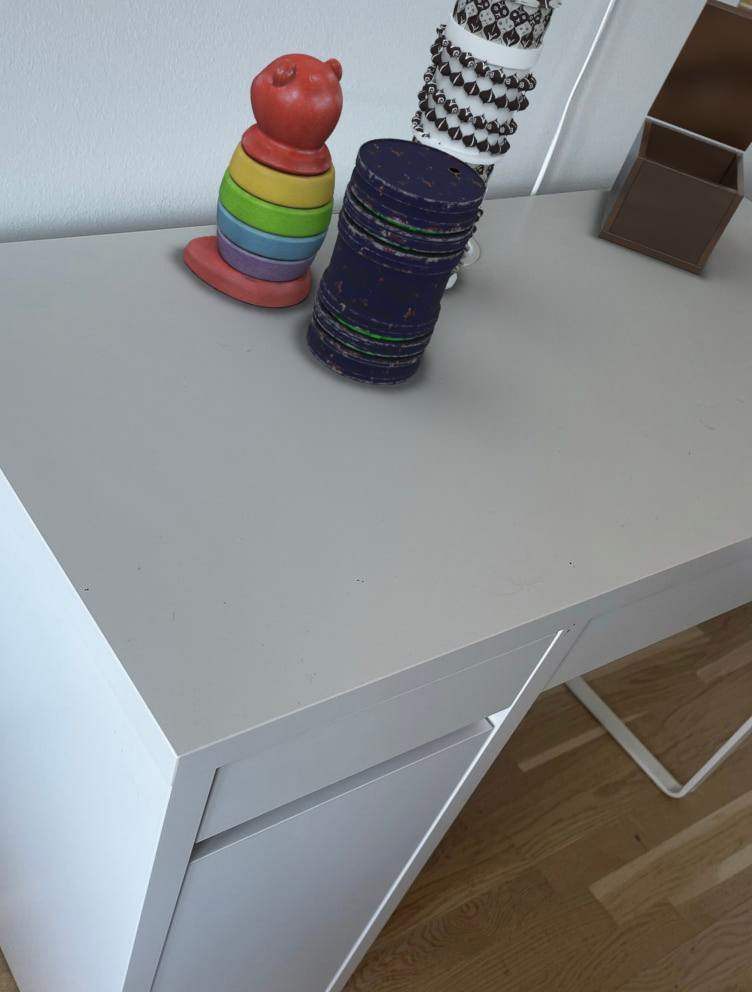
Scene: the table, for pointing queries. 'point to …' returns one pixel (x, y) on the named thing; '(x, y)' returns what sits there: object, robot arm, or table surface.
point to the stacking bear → (276, 187)
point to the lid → (712, 77)
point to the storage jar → (392, 259)
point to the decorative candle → (480, 82)
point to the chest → (673, 196)
